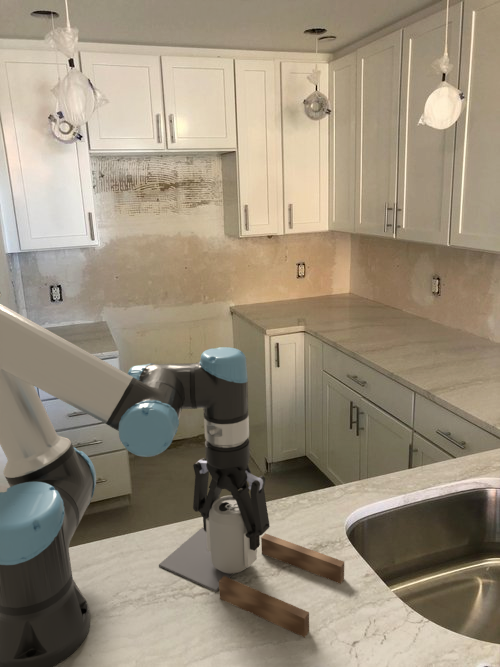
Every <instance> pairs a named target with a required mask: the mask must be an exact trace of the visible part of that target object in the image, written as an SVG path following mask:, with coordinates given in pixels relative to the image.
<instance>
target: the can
mask: <svg viewBox="0 0 500 667" xmlns="http://www.w3.org/2000/svg"><path fill="white" fill-rule="evenodd" d="M209 527H210V547H211V561H212V564H213V566H214V567H215V568H217V569H218V570H220V571H222V572H224V573H228V574H233V575H234V574H238V573H239V574H240V573H241V572H243V571H244V570H245V569H247V568H248V567H245V561H244V533H245V532H246V531H247V529H246V527H245V524H244V521H243V518H242V516H241V513H240V510H239V507H238V505H237V502H236V499H233V497H232V495H224V496H221V497H219V498H218V499H217V500H215V501H214V503H213V505H212V508H211V509H210V511H209Z"/></svg>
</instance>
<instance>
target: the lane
mask: <svg viewBox="0 0 500 667" xmlns="http://www.w3.org/2000/svg"><path fill="white" fill-rule="evenodd" d="M260 539H261V540H260V544H261V554H262V555H264V556H266V557H269V558H272V559H274V560H277V561H279V562H282V563H285V564H288V565H290V566H293V567H295V568H298V569H300V570H303V571H306V572H308V573H310V574H313V575H316V576H319V577H321V578H323V579H327V580H329V581H332V582H333V583H337V584H339V585H341V584H342V583H343V582H344V580H345V561H344V560H340V559H338V558H335V557H332V556H329V555H327V554H323V553H322V552H321V553H320V552H318V551H315V550H313V549H311V548H308V547H305V546H302V545H299V544H297V543H293V542H291V541H288V540H286V539H282V538H279V537H276V536H274V535H271V534H268V533H265V532H264V533H263V534H262V535H261V537H260ZM218 591H219V600H221V601H224V602H226V603H228V604H230V605H232V606H235V607H237V608H239V609H241V610H243V611H246V612H247V613H250V614H252V615H254V616H256V617H258V618H261V619H263V620H265V621H268V622H269V623H271V624H274V625H276V626H278V627H281V628H283V629H285V630H287V631H289V632H291V633H294V634H296V635H297V636H300V637H303V638H306V636H308V634H309V632H310V612H309V611H307V610H305V609H302V608H301V607H297V606H296V605H294V604H291V603H288V602H286V601H284V600H281V599H279V598H277V597H274V596H272V595H270V594H267V593H265V592H262V591H261V590H258V589H257V588H256V589H255V588H253V587H251V586H248V585H246V584H244V583H242V582H240V581H237V580H235V579H233V578H231V577H230V578H228V577H225V576H223V577H222V579H221V580H220V581H219V590H218Z"/></svg>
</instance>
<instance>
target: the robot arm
mask: <svg viewBox="0 0 500 667" xmlns="http://www.w3.org/2000/svg"><path fill="white" fill-rule="evenodd" d="M1 298H2V293H1V292H0V299H1ZM247 364H248V363H247V357H246V355H245V353H244V352H243V351H241V350H240V349H238V348H234V347H229V346H227V347H226V346H221V347H216V348H208V349H206V350H204V351H203V352H202V353H201V355H200V359H199V361H198V362H193V363H192V362H191V363H185V362H184V363H152V362H151V363H147V364H139V365H132V366H131V367H130V368H129V369H128V372H125V371H123V370H121V369H120V368H118V367H116V366H114V365H112V364H110V363H108V362H107V361H105V360H103V359H101V358H99V357H97V356H95V355H94V354H92V353H90V352H89V351H87V350H85V349H83V348H82V347H80V346H78V345H77V344H74V343H73V342H70V341H69V340H66V339H65V338H63V337H61V336H59V335H57V334H56V333H54V332H52V331H50V330H48V329H47V328H45V327H43V326H42V325H40V324H38V323H36V322H35V321H33V320H30V319H28V318H27V317H26V316H24V315H21V314H19V313H18V312H16V311H14V310H12V309H10V308H9V307H7V306H5V305H4V304H2V303H0V447H1V450H2V452H4V453H3V454H4V455H5V457H6V460H7V461H6V464H5V466H4V469H3V476H4V478H5V479H6V481H7V483H8V485H9V487H7V488H6V491H0V667H54V666H55V665H57V664H59V663H61V662H63V661H64V660H66V659H67V658H69V656H71V655H72V654H73V653H74V652H75V651H76V650H77V649H78V648H79V647H80V646H81V645H82V643H83V642H84V641H85V638H86V637H87V635H88V633H89V631H90V630H89V629H90V626H91V616H90V610H89V605H88V601H87V600H86V599H85V596H84V595H83V593H82V592H81V590H80V588H79V587H78V585H77V584H76V582H75V580H74V578H73V572H72V565H71V557H70V543H71V540H72V539H73V536H74V534H75V532H76V530H77V528H78V526H79V524H80V523H81V521H82V518H83V517H84V514H85V512H86V510H87V509H88V507H89V505H90V503H91V501H92V499H93V497H94V494H95V488H96V484H97V473H96V472H97V471H96V469H95V466H94V464H93V462H92V460H91V458H90V457H89V456H88V455H87V453H85V452H84V451H82V450H78V448H76V447H74V446H73V443H72V442H71V440H70V438H67V437H64V436H61V435H58V433H57V432H56V429H55V428H54V424H53V423H52V421H51V419H50V417H49V415H48V413H47V411H46V408H45V406H44V404H43V402H42V400H41V398H40V396H39V393H38V392H37V389H39V390H41V391H43V392H44V393H47V394H48V395H51V396H53V397H55V398H56V399H58V400H60V401H62V402H64V403H65V404H68V405H69V406H71V407H73V408H75V409H77V410H79V411H81V412H83V413H85V414H87V415H88V416H91V417H92V418H94V419H96V420H97V421H100V422H101V423H103V424H105V425H106V426H109V427H110V428H112V429H114V430H116V431H117V432H118V438H119V440H120V442H121V444H122V445H123V447H124V448H125V449H126V450H127V451H128V452H130V453H131V454H133V455H135V456H138V457H143V458H149V457H156V456H157V455H160V454H162V453H163V452H165V451H166V450H167V449H168V448H169V447H170V446H171V444H172V442H173V440H174V437H176V434H177V432H178V428H179V425H180V418H181V413H182V410H193V409H194V410H195V409H203V427H204V439H205V441H204V448H205V449H204V450H205V457H202V458H200V459H199V460H197V461H196V462H195V463H193V465H192V467H193V471H194V475H195V476H194V490H193V492H194V493H193V501H192V502H193V505H192V508H193V511H194V512H199V513H200V515H201V517H202V521H203V522H202V523H203V528H204V531H206V532H207V551H210V552H211V547H210V527H209V511H210V509H211V508H212V505H213V503H214V501H215V500H217V499H218V498H220V496H221V494H222V490H225V491H228V492H230V495H231V496H232V497H233V499H236V502H237V505H238V507H239V510H240V513H241V516H242V518H243V521H244V524H245V527H246V529H247V531H246V532H245V533H244V561H245V567H247V568H250V566H252V565H253V564H254V563H255V562H256V561H257V558H258V557H257V549H258V548H259V547H260V544H261V540H260V539H261V537H262V536H263V535H264V534H265V532H266V531H268V530H269V529H270V527H271V526H270V519H269V513H268V506H267V505H268V504H267V500H266V493H265V485H266V478H265V476H264V475H260V476H259V477H258V476H257V475H254V474H252V472H251V469H250V466H249V461H250V454H251V453H250V451H251V450H250V439H249V437H250V424H249V423H250V417H249V386H248V385H249V381H248V380H249V377H248V368H247ZM35 387H36V388H37V389H36V388H35ZM209 475H210V476H211V479H210V480H211V481H210V484H209ZM208 489H209V490H208ZM260 536H261V537H260Z"/></svg>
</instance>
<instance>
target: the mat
mask: <svg viewBox="0 0 500 667" xmlns="http://www.w3.org/2000/svg"><path fill="white" fill-rule="evenodd" d="M158 567H159V568H162V569H165V570H167V571H169V572H172V573H173V574H175V575H177V576H180V577H182V578H184V579H186V580H189V581H191V582H194V583H196V584H198V585H200V586H202V587H204V588H206V589H208V590H211V591H213V592H215V593H217V592H218V591H219V581H220V580H221V579H222V577H223V576H225V577H228V578H230V579H231V577H232V576H233V575H234V574H228V573H224V572H222V571H220V570H218V569H217V568H215V567H214V566H213V564H212V561H211V552H210V551H207V532H206V531H204V527H201V528H199V529H198V530H197V531H196V532H195V533H194V534H193V535H191V536H190V537H189V538H188V539H187V540H186V541H184V542H183V543H182V544H181V545H180V546H179V547H176V549H175V550H174V551H173V552H171V553H170V554H169V555H168V556H167V557H166V558H165V559H164V560H162V561H161V562H160V563H159V564H158Z"/></svg>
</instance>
